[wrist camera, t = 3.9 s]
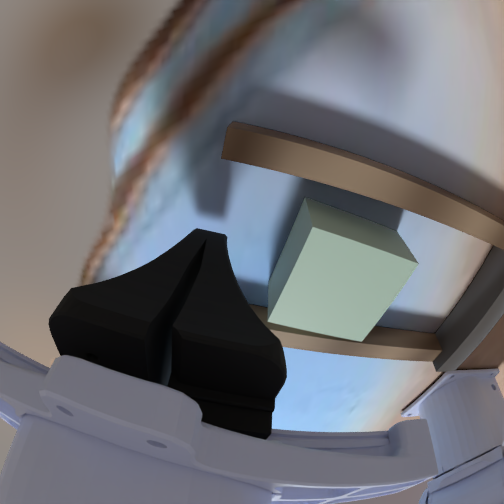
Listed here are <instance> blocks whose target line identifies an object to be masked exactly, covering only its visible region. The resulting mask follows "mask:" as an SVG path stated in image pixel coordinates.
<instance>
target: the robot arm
mask: <svg viewBox="0 0 504 504" xmlns="http://www.w3.org/2000/svg"><path fill="white" fill-rule="evenodd" d="M49 328H50V331H51V335H52V337H53V339H54V342H55V344H56V346H57V349H58V351H59V353H60V355H61V356H60V357H58V358H56V359H55V360H54V362H53V364H52V366H51V368H49V367H46V366H44V365H42V364H40V363H38V362H36V361H34V360H32V359H30V358H28V357H27V356H24V355H23V354H21V353H19V352H17V351H15V350H14V349H12V348H10V347H8V346H6V345H5V344H3V343H1V342H0V418H2V419H3V420H4V421H5V422H7V423H8V424H10V425H11V426H13V427H14V428H15V429H17V432H16V435H15V437H14V440H13V442H12V445H11V447H10V450H9V452H8V455H7V458H6V460H5V464H4V466H3V469H2V472H1V475H0V504H334V503H342V502H350V501H356V500H362V499H368V498H374V497H379V496H384V495H389V494H394V493H397V492H400V491H402V490H405V489H408V488H410V487H412V486H415V485H417V484H419V483H421V482H424V481H426V480H428V479H430V478H432V477H433V479H434V480H432V481H429V482H428V483H427V484H428V488H426V489H425V491H424V492H423V494H422V496H421V498H420V500H419V504H504V446H503V445H504V398H503V396H502V393H501V391H500V388H499V386H498V384H497V381H496V379H495V376H496V375H497V374H498V373H499V372H500V371H499V369H498V368H497V369H480V370H455V371H447V372H446V373H444V374H443V375H442V376H441V377H440V378H439V379H438V380H437V381H436V382H435V383H434V384H433V385H432V386H431V387H430V388H429V389H428V390H427V391H426V392H425V393H424V394H422V395H421V396H420V397H419V398H418V399H417V400H416V401H415V402H413V403H412V404H411V405H410V406H409V407H408V408H406V409H405V410H404V411H403V412H402V413H401V416H402V417H411V416H420V419H416V420H406V421H402V422H399V423H397V424H395V425H394V426H392V427H391V428H390V429H389V430H388V431H376V432H306V431H291V430H279V429H272V412H273V411H274V408H275V398H276V396H277V395H278V393H279V391H280V390H281V388H282V387H283V385H284V383H285V380H286V378H287V370H286V362H285V356H284V352H283V348H282V344H281V341H280V339H279V338H278V337H277V336H275V335H274V334H273V333H272V332H271V331H270V330H269V329H268V328H267V327H266V326H265V325H264V324H263V322H262V321H261V320H260V319H259V318H258V316H257V315H256V313H255V312H254V310H253V309H252V308H251V306H250V305H249V303H248V302H247V300H246V298H245V297H244V295H243V293H242V291H241V289H240V287H239V285H238V283H237V280H236V278H235V275H234V272H233V270H232V267H231V263H230V259H229V255H228V250H227V236H226V235H225V234H220V233H216V232H211V231H207V230H202V229H198V228H196V229H195V230H193V231H192V232H191V233H190V234H188V235H187V236H186V237H185V238H184V239H182V240H181V241H180V242H179V243H177V244H176V245H175V246H173V247H172V248H171V249H169V250H168V251H166V252H165V253H163V254H162V255H160V256H159V257H157V258H156V259H154V260H152V261H151V262H149V263H147V264H145V265H143V266H141V267H139V268H137V269H135V270H132V271H130V272H128V273H125V274H123V275H120V276H118V277H115V278H112V279H109V280H105V281H102V282H98V283H94V284H90V285H85V286H80V287H75V288H71V289H70V291H69V292H68V293H67V294H66V295H65V296H64V298H63V299H62V301H61V302H60V304H59V305H58V306H57V308H56V309H55V311H54V312H53V314H52V315H51V317H50V318H49Z"/></svg>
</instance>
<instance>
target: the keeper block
mask: <svg viewBox="0 0 504 504" xmlns="http://www.w3.org/2000/svg"><path fill="white" fill-rule="evenodd" d="M417 266H418V262H417V261H416V259H415V257H414V256H413V254H412V253H411V251H410V250H409V248H408V247H407V245H406V244H405V242H404V241H403V239H402V238H401V237H400V235H399V234H398V232H397V231H395V230H392V229H390V228H387V227H385V226H382V225H380V224H377V223H375V222H372V221H369V220H367V219H364V218H362V217H359V216H356V215H354V214H351V213H348V212H346V211H343V210H340V209H337V208H335V207H332V206H329V205H326V204H323V203H321V202H318V201H315V200H312V199H309V198H306V197H305V198H304V200H303V203H302V205H301V208H300V210H299V212H298V215H297V217H296V220H295V222H294V224H293V227H292V229H291V232H290V234H289V236H288V239H287V241H286V243H285V246H284V248H283V250H282V253H281V255H280V257H279V260H278V262H277V264H276V266H275V269H274V271H273V273H272V276H271V278H270V280H269V283H268V318H267V322H271V323H275V324H280V325H284V326H288V327H293V328H297V329H302V330H306V331H311V332H315V333H320V334H325V335H330V336H335V337H340V338H345V339H350V340H355V341H361V342H362V341H363V340H364V338H365V337H366V336H367V335H368V333H369V332H370V331H371V330H372V328H373V327H374V326H375V324H376V323H377V322H378V321H379V319H380V318H381V317H382V315H383V314H384V313H385V311H386V310H387V309H388V307H389V306H390V305H391V303H392V302H393V301H394V299H395V298H396V296H397V295H398V294H399V292H400V291H401V289H402V288H403V286H404V285H405V284H406V282H407V281H408V279H409V278H410V276H411V275H412V273H413V272H414V270H415V269H416V267H417Z"/></svg>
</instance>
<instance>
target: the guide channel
mask: <svg viewBox="0 0 504 504" xmlns="http://www.w3.org/2000/svg"><path fill="white" fill-rule="evenodd" d="M221 159H226V160H231V161H235V162H240V163H245V164H249V165H253V166H258V167H262V168H266V169H271V170H275V171H279V172H283V173H287V174H291V175H294V176H298V177H302V178H306V179H309V180H313V181H317V182H320V183H324V184H327V185H331V186H334V187H338V188H341V189H344V190H348V191H351V192H354V193H357V194H361V195H364V196H367V197H370V198H373V199H376V200H379V201H382V202H385V203H388V204H391V205H394V206H397V207H400V208H402V209H405V210H408V211H411V212H414V213H416V214H419V215H422V216H424V217H427V218H430V219H432V220H435V221H437V222H440V223H442V224H445V225H448V226H450V227H452V228H455V229H457V230H460V231H462V232H465V233H467V234H469V235H472V236H474V237H476V238H478V239H481V240H483V241H485V242H487V243H490V244H492V245H494V246H493V248H492V250H491V251H490V253H489V255H488V257H487V258H486V260H485V262H484V264H483V265H482V267H481V269H480V270H479V272H478V273H477V275H476V277H475V278H474V280H473V281H472V283H471V285H470V286H469V288H468V289H467V291H466V292H465V294H464V295H463V296H462V298H461V299H460V301H459V302H458V304H457V305H456V306H455V308H454V309H453V311H452V312H451V313H450V315H449V316H448V317H447V319H446V320H445V321H444V323H443V324H442V325H441V327H440V328H439V329H438V330H437V332H436V333H435V334H434V333H425V332H417V331H409V330H401V329H393V328H386V327H379V326H374V327H373V328H372V330H371V331H370V332H369V333H368V335H367V336H366V337H365V338H364V340H363V341H362V342H361V341H355V340H350V339H345V338H340V337H335V336H330V335H325V334H320V333H315V332H311V331H306V330H302V329H297V328H293V327H288V326H284V325H280V324H275V323H271V322H267V318H268V308H267V307H262V306H257V305H252V304H249V305H250V306H251V308H252V309H253V310H254V312H255V313H256V315H257V316H258V318H259V319H260V320H261V321H262V322H263V324H264V325H265V326H266V327H267V328H268V329H269V330H270V331H271V332H272V333H273V334H274V335H275V336H277V337H278V338H279V339H280V341H281V344H282V347H288V348H295V349H302V350H309V351H316V352H323V353H331V354H340V355H349V356H358V357H369V358H380V359H393V360H409V361H432V362H433V364H434V367H435V369H436V372H446V371H455V370H456V369H457V368H458V367H459V366H460V365H461V364H462V363H463V362H464V361H465V360H466V358H467V357H468V356H469V355H470V354H471V353H472V352H473V351H474V350H475V348H476V347H477V346H478V345H479V344H480V343H481V342H482V340H483V339H484V338H485V337H486V336H487V334H488V333H489V332H490V331H491V329H492V328H493V327H494V326H495V324H496V323H497V322H498V321H499V319H500V318H501V317H502V315H503V314H504V221H503V220H502V219H500V218H498V217H496V216H494V215H493V214H491V213H489V212H487V211H485V210H484V209H482V208H480V207H478V206H476V205H474V204H472V203H470V202H468V201H466V200H464V199H462V198H460V197H458V196H456V195H454V194H452V193H450V192H448V191H446V190H444V189H442V188H439V187H437V186H435V185H433V184H431V183H428V182H426V181H424V180H421V179H419V178H417V177H414V176H412V175H410V174H407V173H405V172H402V171H400V170H397V169H395V168H392V167H390V166H387V165H384V164H382V163H379V162H376V161H374V160H371V159H368V158H365V157H362V156H359V155H357V154H354V153H351V152H348V151H345V150H342V149H338V148H335V147H332V146H329V145H326V144H322V143H319V142H316V141H312V140H309V139H305V138H301V137H298V136H294V135H290V134H286V133H283V132H279V131H275V130H270V129H266V128H262V127H258V126H253V125H248V124H244V123H239V122H234V121H233V122H232V123H231V124H230V125H229V126H228V127H227V131H226V136H225V141H224V146H223V151H222V156H221Z"/></svg>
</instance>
